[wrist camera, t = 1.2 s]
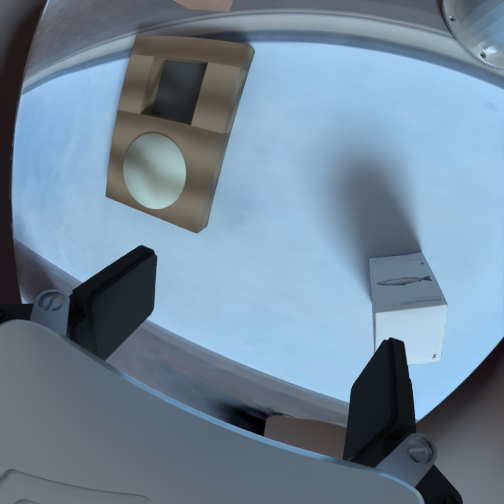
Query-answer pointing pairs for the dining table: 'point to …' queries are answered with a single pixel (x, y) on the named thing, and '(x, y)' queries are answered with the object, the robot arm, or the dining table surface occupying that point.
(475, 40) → the robot arm
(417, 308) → the supplement box
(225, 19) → the dining table surface
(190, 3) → the block
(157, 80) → the hole platform
